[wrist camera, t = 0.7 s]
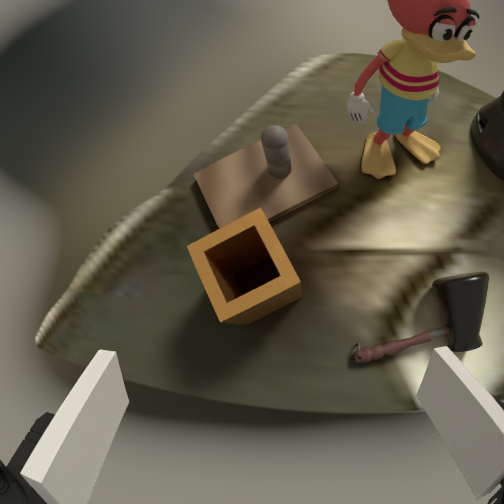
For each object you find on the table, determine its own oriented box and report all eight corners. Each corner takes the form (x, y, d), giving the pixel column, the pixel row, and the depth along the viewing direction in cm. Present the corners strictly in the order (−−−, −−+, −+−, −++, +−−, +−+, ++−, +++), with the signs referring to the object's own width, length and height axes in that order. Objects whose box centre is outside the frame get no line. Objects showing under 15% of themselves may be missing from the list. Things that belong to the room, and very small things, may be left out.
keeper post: (296, 129, 42) (292, 82, 33) (337, 188, 39) (344, 146, 29) (197, 178, 43) (170, 140, 33) (227, 244, 40) (203, 216, 30)
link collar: (274, 244, 39) (260, 207, 27) (301, 297, 36) (300, 281, 25) (221, 271, 39) (186, 246, 27) (246, 325, 37) (220, 322, 25)
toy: (365, 186, 38) (423, -23, 10) (333, 129, 41) (339, -68, 13) (446, 159, 37) (535, 0, 9) (413, 108, 40) (459, -53, 12)
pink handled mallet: (473, 271, 33) (477, 334, 32) (347, 292, 38) (353, 357, 37) (498, 270, 26) (501, 344, 25) (349, 296, 30) (355, 375, 29)
